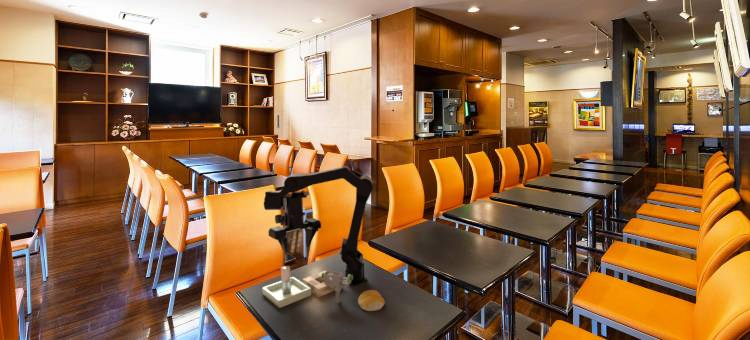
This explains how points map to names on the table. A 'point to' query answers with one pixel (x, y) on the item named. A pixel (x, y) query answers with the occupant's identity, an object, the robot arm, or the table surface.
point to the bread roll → (371, 300)
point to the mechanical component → (336, 281)
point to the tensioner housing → (318, 285)
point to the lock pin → (286, 280)
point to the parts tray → (297, 293)
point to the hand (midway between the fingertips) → (296, 250)
